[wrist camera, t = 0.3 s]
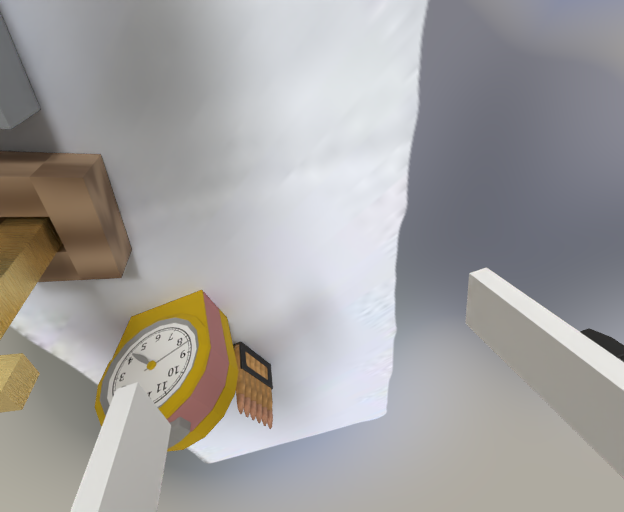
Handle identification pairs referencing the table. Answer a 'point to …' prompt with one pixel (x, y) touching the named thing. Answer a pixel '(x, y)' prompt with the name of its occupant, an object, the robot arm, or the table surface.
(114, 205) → the block
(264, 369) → the ammunition clip
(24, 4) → the table surface
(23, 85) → the block
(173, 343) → the alarm clock
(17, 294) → the t key
